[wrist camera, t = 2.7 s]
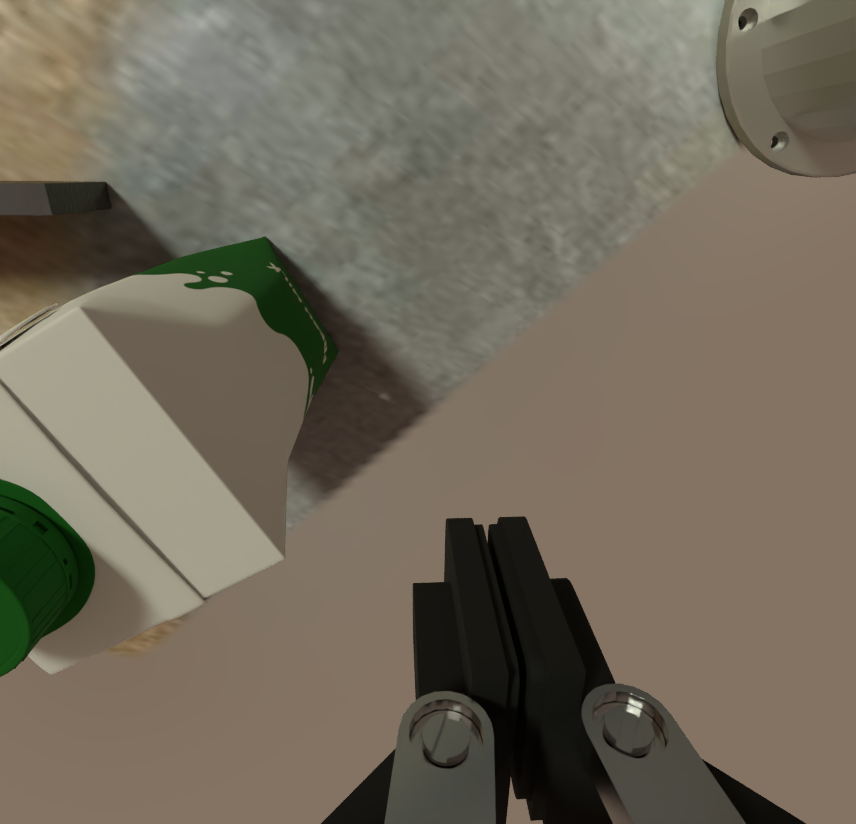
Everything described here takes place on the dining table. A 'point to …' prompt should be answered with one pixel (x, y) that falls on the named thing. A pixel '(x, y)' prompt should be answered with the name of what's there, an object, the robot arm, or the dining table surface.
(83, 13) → the dining table surface
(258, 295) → the soya milk
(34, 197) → the bracket
